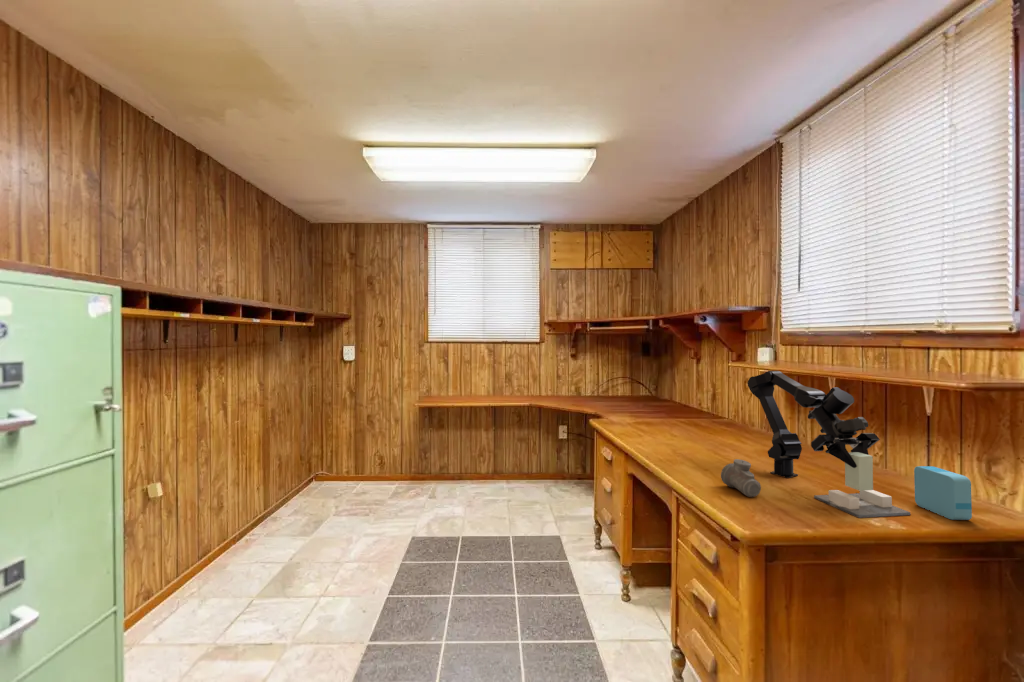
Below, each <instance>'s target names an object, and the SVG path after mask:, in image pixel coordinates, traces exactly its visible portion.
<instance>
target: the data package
mask: <svg viewBox="0 0 1024 682" xmlns="http://www.w3.org/2000/svg"><path fill="white" fill-rule="evenodd" d="M913 473H914V475H913V477H914V478H913V479H914V481H913V483H914V501H915V504H916V505H917V506H918V507H920V508H922V509H924V508H925V510H927V511H929V510H930V511H929V512H932V513H934V514H936V513H937V515H939V516H941V517H943V516H944V518H946V519H949V520H953V521H954V520H955V521H969V520H972V517H973V512H972V511H973V510H972V508H973V506H972V481H971V479H969V477H967V476H966V475H963V474H959V473H957V472H956V473H955V472H953V471H949V470H946V469H944V468H940V467H937V466H931V465H930V466H928V465H927V466H925V465H921V466H920V465H919V466H915V467H914V470H913Z"/></svg>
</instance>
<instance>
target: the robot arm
mask: <svg viewBox="0 0 1024 682" xmlns="http://www.w3.org/2000/svg"><path fill="white" fill-rule="evenodd" d="M775 386H777V387H779V388H780V389H782V390H783V391H785V392H787V393H788V394H790V395H791V396H793V398H794V399H793V400H794V401H795V402H796V403H797V404H798V405H800V407H802V408H813V410H808V414H807V419H808V420H810V419H812V420H814V419H815V421H816V422H817V424H818V425H819V426H820V428H821V429H819V431H820V433H821V434H818V435H817V436H816V437H815V438H814V439H813V440H812V441H810V442H811V443H810V446H811V448H812V449H813V451H814V452H823V451H824V450H825V447H824V446H826V450H825V453H826V454H829V455H832V456H833V457H835V458H836V459H838V460H840V461H842V462H844V464H845V463H846V464H848V465H850V466H851V467H853V468H856V467H857V465H856V463H855V462H854V460H853V459H852V457H851V456H850V454H849V453H848V450H847V448H846V445H847V446H850V447H851V449H850V452H860V453H863V454H867V455H870V454H869V451H868V450H869V449H870V448H871V447H872V446H874V445H875V444H876V443H878V442H879V441H880V440H881V439H880V438H879V437H878V435H877V434H876V433H874V432H860V433H859V435H857V434H858V431H862V430H863V431H865V430H867V428H868V427H869V423H868V421H867V420H866V419H865V418H864V417H863V416H858V417H855V418H850V419H845V420H844V419H840V418H839V416H838V415H841V414H843V413H844V412H845V411H846V410H847V409H848V408H850V406H852V405H853V404H854V403H855V398H854V396H853V395H852V394H850V393H849V392H847V391H846V390H842V389H841V388H839V387H837V386H836V387H832V388H830V390H829V391H828V393H827V394H826V393H825V392H824V391H822V390H820V389H817V388H814V387H810V386H805V385H803V384H801V383H800V382H798V381H796V380H794V379H793V378H790V377H789V376H787V375H785V374H784V373H783V372H782V371H779V370H768V371H766V372H763V373H761V374H758V375H754V376H750V377H749V379H748V380H747V387H748V389H749V390H750V393H752V395H754V397H756V398H757V399H758V401H759V402H760V405H761V407H762V409H763V413H764V414H765V417H766V420H767V421H768V424H769V426H770V429H771V432H772V434H773V435H772V439H771V444H772V446H771V447H770V448H769V449H768V450H767V455H768V458H771V459H773V461H774V462H773V471H770V474H771V475H775V476H779V477H782V478H785V479H790V478H794V477H798V475H799V474H797V473H795V472H794V460H799V459H800V457H801V453H802V450H803V447H802V442H801V440H800V438H799V435H798V434H797V433H796V432H793V433H792V432H791V431H790V430H789V429H788V427H787V425H786V422H785V420H784V418H783V415H782V414H781V411H780V408H779V406H778V404H777V402H776V399H775V398H774V392H775ZM856 435H857V436H856ZM854 436H856V437H854Z"/></svg>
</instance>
